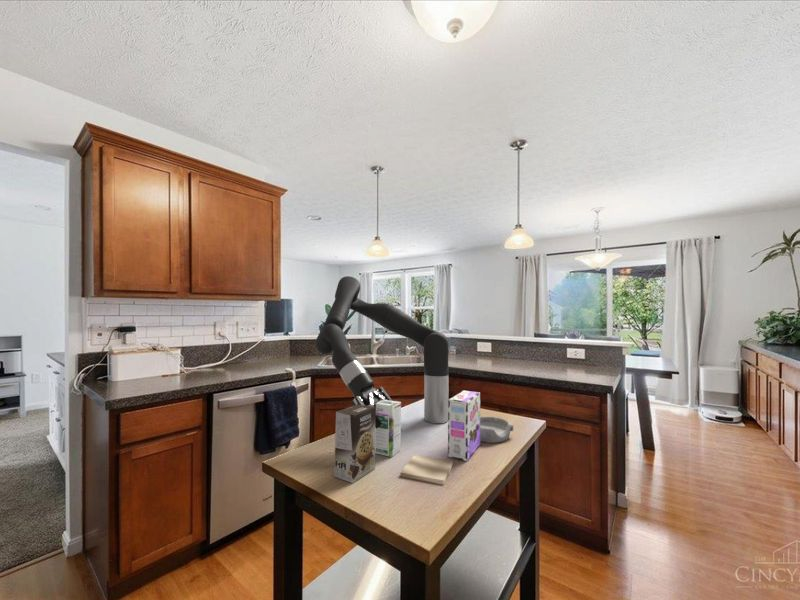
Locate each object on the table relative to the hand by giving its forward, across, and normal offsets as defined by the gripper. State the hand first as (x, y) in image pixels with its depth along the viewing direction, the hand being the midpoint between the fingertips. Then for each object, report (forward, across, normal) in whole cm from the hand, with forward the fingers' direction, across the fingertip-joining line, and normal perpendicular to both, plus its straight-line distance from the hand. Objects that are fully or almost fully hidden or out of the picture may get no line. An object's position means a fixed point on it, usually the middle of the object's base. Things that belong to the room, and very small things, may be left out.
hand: (387, 422), depth 99 cm
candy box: (+20, -12, +8) cm, 25 cm away
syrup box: (+7, 0, -6) cm, 9 cm away
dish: (+22, -28, +9) cm, 37 cm away
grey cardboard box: (+6, +16, -6) cm, 18 cm away
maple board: (+17, +5, +5) cm, 18 cm away
